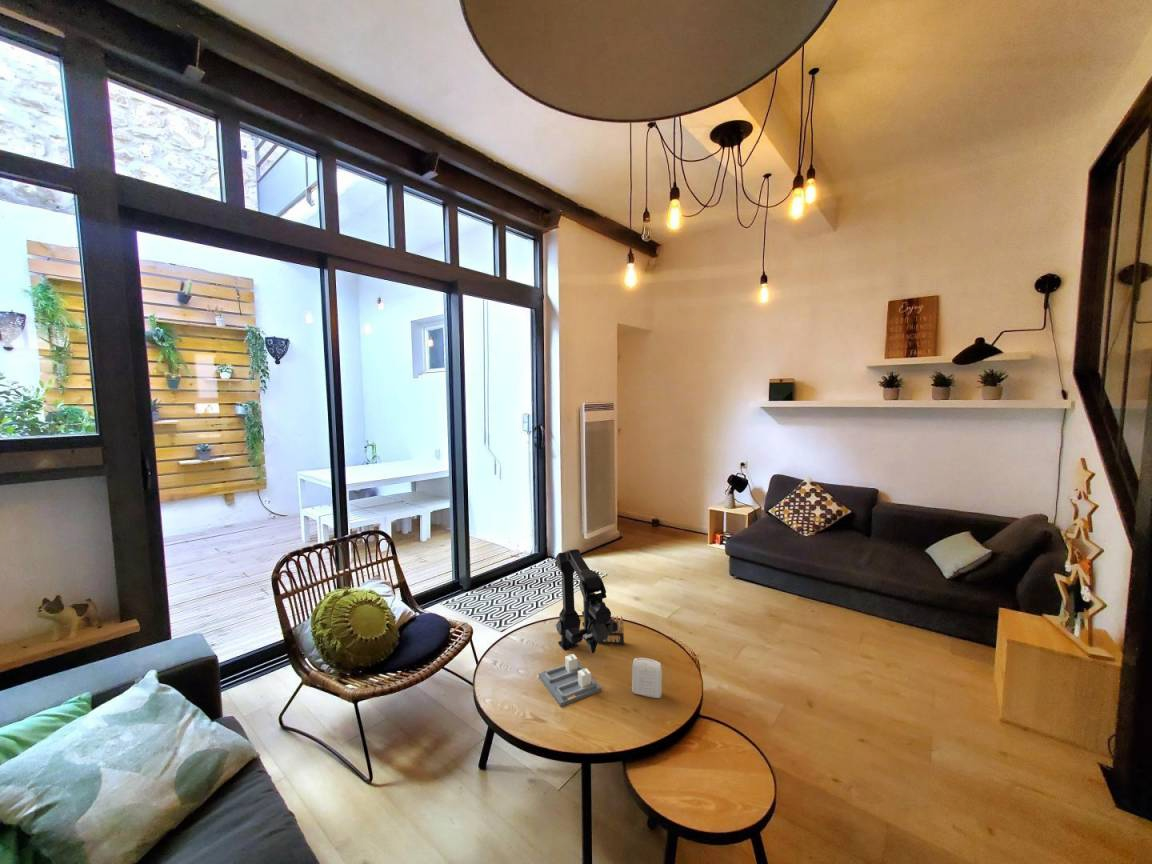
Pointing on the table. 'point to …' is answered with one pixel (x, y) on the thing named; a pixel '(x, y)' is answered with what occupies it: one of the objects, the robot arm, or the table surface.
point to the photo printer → (647, 677)
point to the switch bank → (567, 685)
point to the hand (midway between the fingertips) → (592, 652)
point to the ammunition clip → (615, 635)
